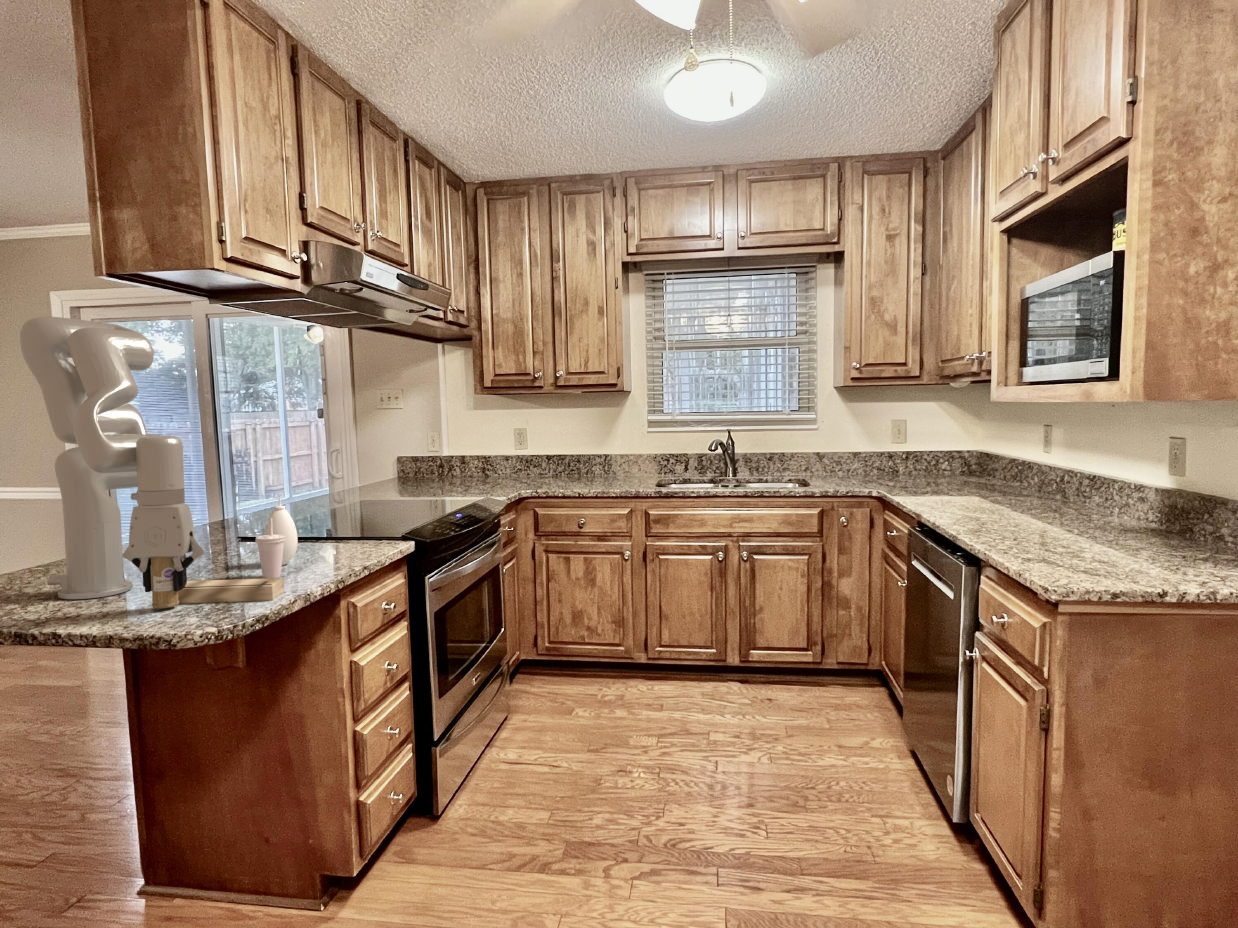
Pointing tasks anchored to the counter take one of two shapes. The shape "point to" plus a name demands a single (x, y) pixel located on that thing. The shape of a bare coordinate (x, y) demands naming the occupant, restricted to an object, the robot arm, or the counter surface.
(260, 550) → the smoothie
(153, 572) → the sprinkles bottle
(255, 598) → the maple board
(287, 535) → the sauce bottle
